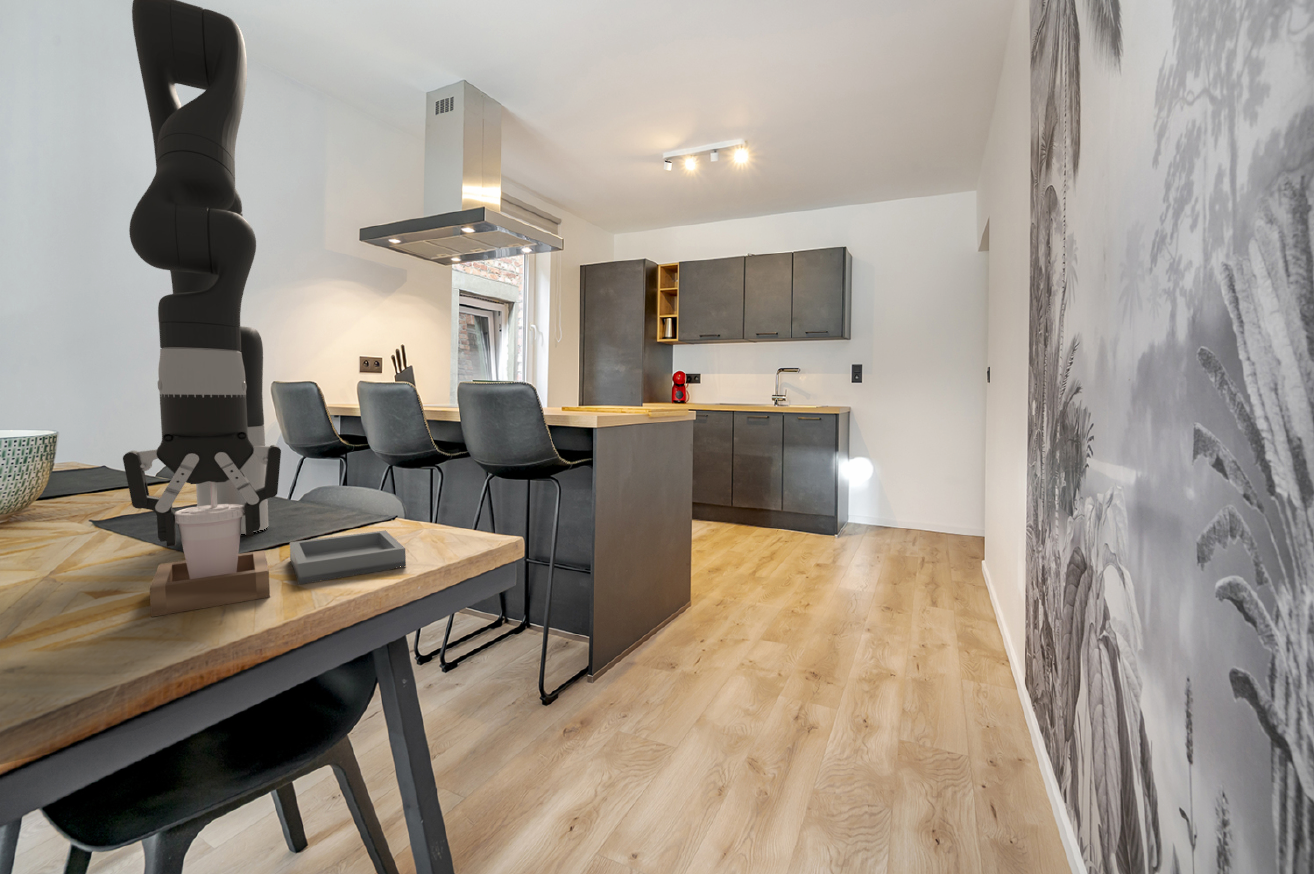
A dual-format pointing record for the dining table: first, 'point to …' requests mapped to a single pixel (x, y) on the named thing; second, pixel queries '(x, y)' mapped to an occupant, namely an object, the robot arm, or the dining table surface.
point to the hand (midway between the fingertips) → (211, 539)
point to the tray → (345, 556)
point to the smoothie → (210, 537)
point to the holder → (208, 585)
